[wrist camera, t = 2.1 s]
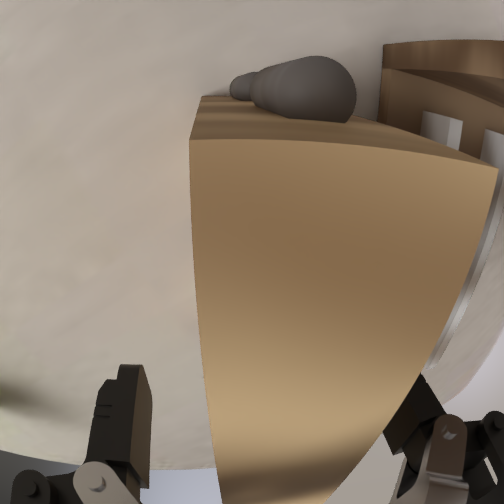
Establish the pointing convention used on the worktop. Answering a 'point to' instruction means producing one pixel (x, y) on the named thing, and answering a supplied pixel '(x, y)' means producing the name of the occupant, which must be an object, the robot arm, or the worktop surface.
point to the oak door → (318, 273)
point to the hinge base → (451, 123)
